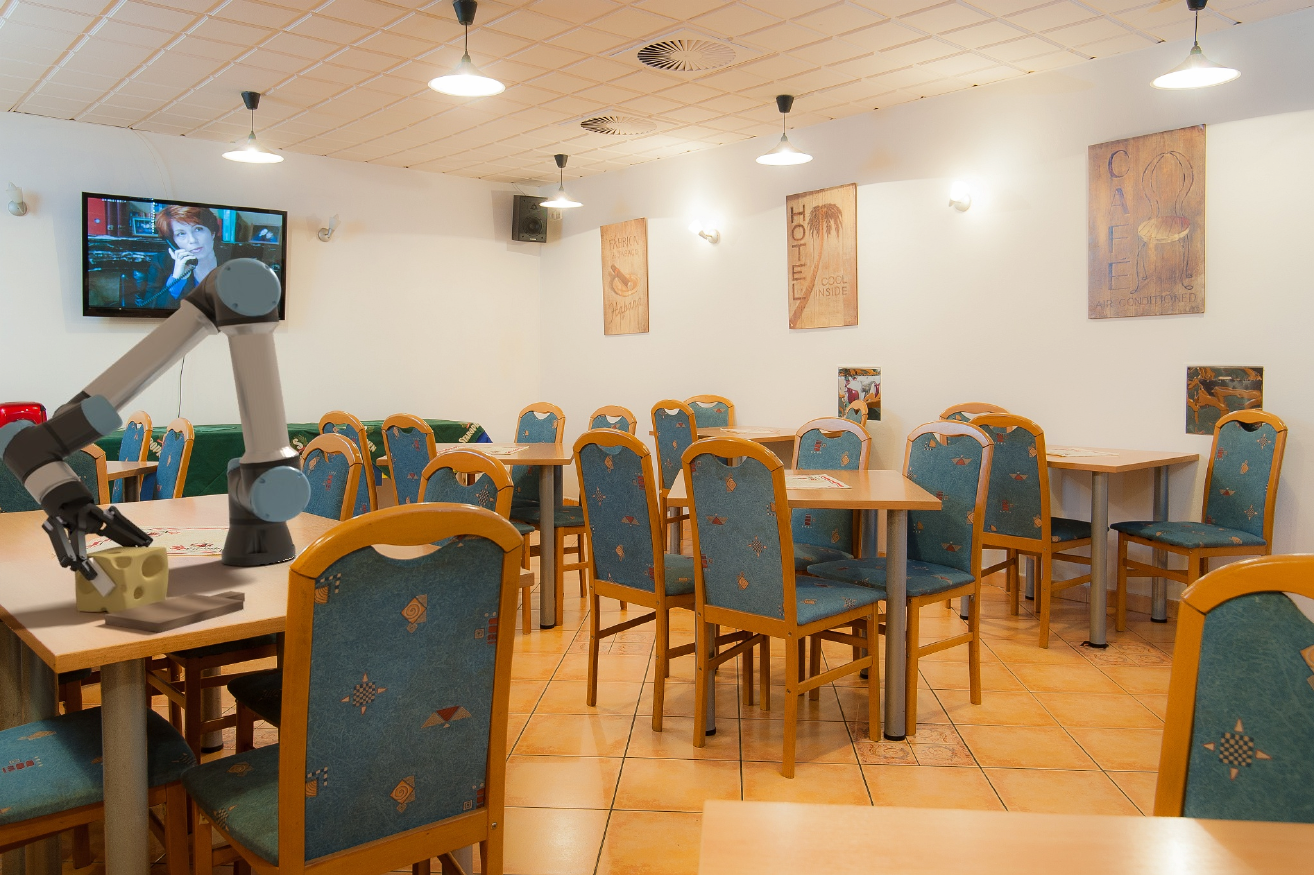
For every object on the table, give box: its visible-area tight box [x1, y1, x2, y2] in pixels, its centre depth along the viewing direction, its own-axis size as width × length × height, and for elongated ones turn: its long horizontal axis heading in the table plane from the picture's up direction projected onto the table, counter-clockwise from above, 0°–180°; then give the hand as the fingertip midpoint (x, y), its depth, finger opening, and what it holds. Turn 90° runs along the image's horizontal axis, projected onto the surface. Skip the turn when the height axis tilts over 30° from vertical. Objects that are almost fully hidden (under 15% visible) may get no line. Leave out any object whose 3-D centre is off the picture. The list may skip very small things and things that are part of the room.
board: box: [104, 590, 246, 633], centre depth 153 cm, size 20×13×2 cm, turn 156°
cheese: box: [74, 545, 170, 614], centre depth 157 cm, size 10×11×10 cm
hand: (136, 584), depth 157 cm, fingers closed on cheese, 10 cm apart
